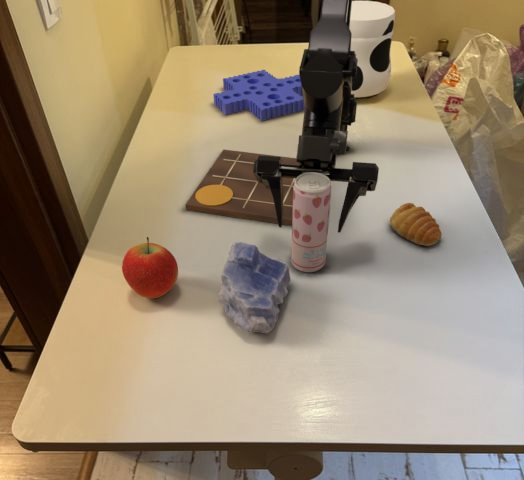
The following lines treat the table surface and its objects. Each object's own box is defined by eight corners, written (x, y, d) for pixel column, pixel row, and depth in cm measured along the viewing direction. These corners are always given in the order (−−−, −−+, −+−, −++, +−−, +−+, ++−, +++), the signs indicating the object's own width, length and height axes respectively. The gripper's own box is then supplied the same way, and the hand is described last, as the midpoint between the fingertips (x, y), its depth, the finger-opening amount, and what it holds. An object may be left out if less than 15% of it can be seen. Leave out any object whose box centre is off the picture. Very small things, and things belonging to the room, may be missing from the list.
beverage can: (302, 277, 84) (306, 195, 73) (284, 258, 87) (286, 177, 76) (331, 266, 86) (340, 184, 75) (313, 248, 89) (318, 167, 78)
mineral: (224, 230, 78) (290, 232, 76) (234, 274, 85) (294, 277, 84) (201, 302, 70) (274, 307, 68) (214, 344, 77) (280, 349, 75)
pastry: (449, 240, 90) (454, 221, 87) (420, 253, 88) (424, 235, 85) (412, 214, 95) (416, 196, 92) (383, 226, 93) (387, 208, 90)
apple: (119, 294, 82) (103, 243, 75) (157, 269, 86) (145, 217, 79) (153, 317, 79) (140, 265, 71) (191, 289, 83) (182, 237, 75)
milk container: (305, 89, 134) (308, 8, 121) (355, 72, 141) (363, -6, 127) (351, 112, 125) (359, 27, 111) (402, 93, 131) (416, 11, 118)
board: (223, 154, 112) (223, 148, 111) (323, 166, 108) (324, 160, 106) (186, 210, 98) (185, 203, 97) (299, 227, 94) (299, 220, 92)
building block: (223, 126, 121) (222, 115, 119) (206, 86, 137) (205, 76, 135) (325, 112, 124) (326, 102, 123) (297, 75, 140) (297, 65, 138)
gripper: (253, 101, 73) (241, 213, 74) (388, 108, 70) (373, 224, 71) (264, 131, 84) (253, 228, 85) (381, 138, 81) (368, 238, 82)
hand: (309, 229), depth 80 cm, fingers open, 9 cm apart
